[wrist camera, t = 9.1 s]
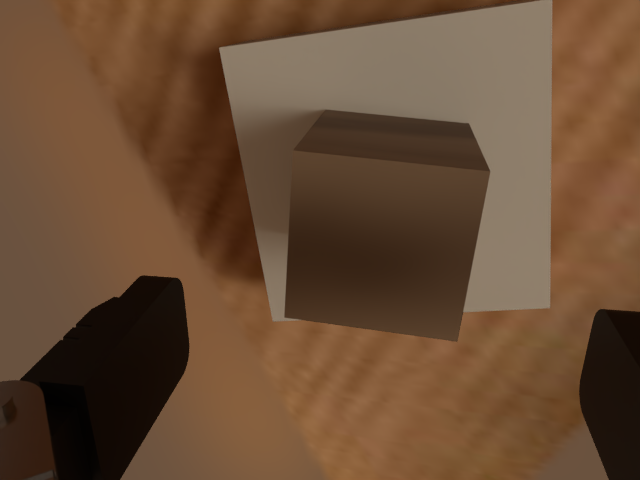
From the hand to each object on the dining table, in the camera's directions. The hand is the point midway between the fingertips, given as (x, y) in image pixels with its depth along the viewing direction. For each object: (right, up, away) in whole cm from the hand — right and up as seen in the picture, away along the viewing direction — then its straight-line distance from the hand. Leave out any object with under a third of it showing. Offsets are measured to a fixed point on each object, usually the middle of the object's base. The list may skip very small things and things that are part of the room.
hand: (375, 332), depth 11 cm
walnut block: (+1, +4, +10) cm, 11 cm away
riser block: (+2, +5, +13) cm, 15 cm away
